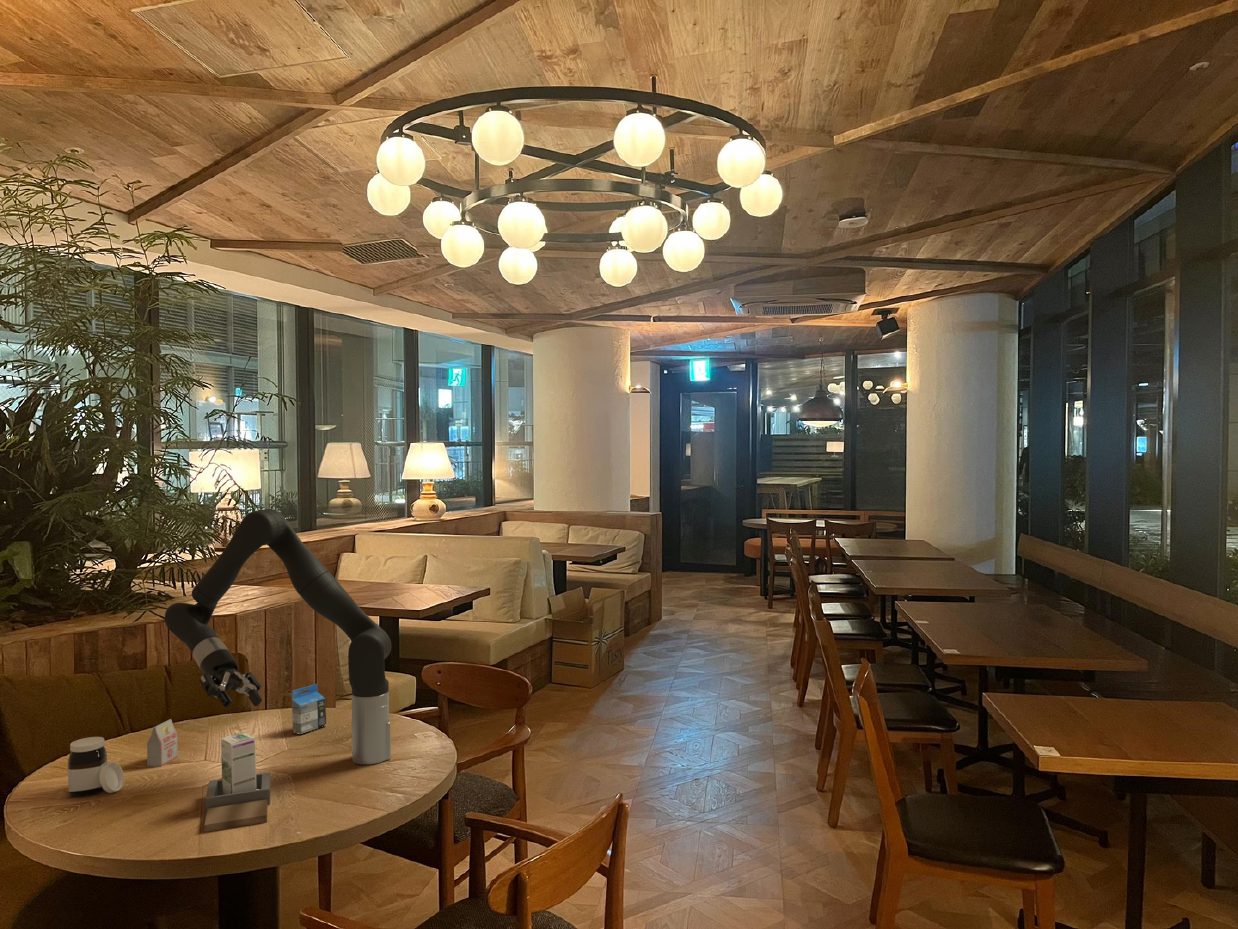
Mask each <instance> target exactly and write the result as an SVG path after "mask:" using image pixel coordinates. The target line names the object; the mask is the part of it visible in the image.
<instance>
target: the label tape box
mask: <svg viewBox="0 0 1238 929" xmlns="http://www.w3.org/2000/svg"><path fill="white" fill-rule="evenodd" d="M318 687H319V684H318V683H314V684H312V685H311V684H310V685H309V686H304V687H300V688H297V689H294V690H292V692H291V710H292V711H291V712H292V713H291V714H292V733H293V732H295V733H300V734H303V733H305V732H307V731H309V730H314V729H317V728H320V727H322V726H325V725H326V726H327V708H326V707H327V705H326V698H325V697H324V696H323V695H322V694H321V693H319V692H318ZM305 691H306V692H305ZM307 691H308V692H307ZM303 692H304V693H303ZM320 729H321V728H320ZM317 730H318V729H317ZM314 731H315V730H314ZM303 735H304V734H303Z"/></svg>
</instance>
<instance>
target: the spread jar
mask: <svg viewBox="0 0 1238 929" xmlns="http://www.w3.org/2000/svg"><path fill="white" fill-rule="evenodd" d="M69 746H70V749H69V751H70V753H69V755H68V759H67V776H68V777H67V790H68V795H69V796H73V797H85V796H87V795H88V796H92V795H95V793H96V794H98V793H100V792H102V791H105V792H106V793H108V794H113V793H115V792H119V791H120V790H121V789H122V788H123V787H124V784H125V775H124V774H125V773H124V771H123V768H122V767H121V765H120V764H119V763H118V762H115V761H111V762H108V757H107V756H108V755H107V754H108V753H107V748H106V747H105V738H104V737H102V736H89V737H84V738H80V739H77V740H74V741H72V742H71V743H70V744H69Z"/></svg>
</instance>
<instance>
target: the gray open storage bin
mask: <svg viewBox="0 0 1238 929" xmlns="http://www.w3.org/2000/svg"><path fill="white" fill-rule="evenodd" d="M256 789H259V790H252V791H246V792H239V793H232V794H225V795H222V778H219V779H214V780H213V779H212V780H209V782H208V786H207V790H206V794H205V800H204V801H205V805H204V806H205V815H207V810H208V808H213V807H220V806H226V805H233V804H239V803H246V802H252V801H259V800H265V799H267V804H270V805H271V772H270V771H268V772H262V773H261V772H260V773H256Z"/></svg>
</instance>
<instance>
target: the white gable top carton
mask: <svg viewBox="0 0 1238 929" xmlns="http://www.w3.org/2000/svg"><path fill="white" fill-rule="evenodd" d="M146 751H147V753H146V757H147V758H146V763H147V767H152V768H153V767H156V768H158V767H159V768H160V767H163V766H164V765H167V764H169V763H170V762H171V761H173V760H176V759H177V758H178V756H179V755H178V733H177V731H176V729H175V726H174V724H173V721H172V719H171V718H170V719H168V720H166V721H163V722H162V723H160V724H157V725H156V726H153V728H152V731H151V734H150V736H149V738H148V740H147V742H146Z"/></svg>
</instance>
